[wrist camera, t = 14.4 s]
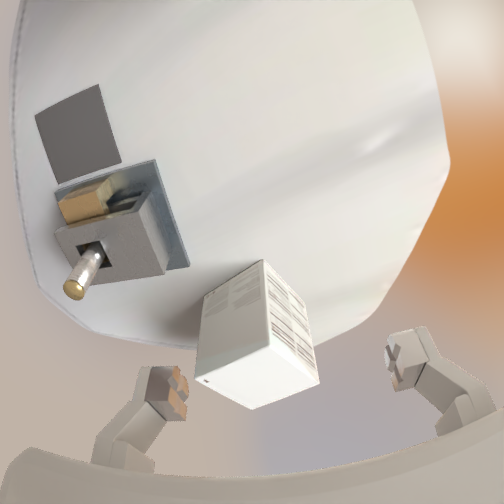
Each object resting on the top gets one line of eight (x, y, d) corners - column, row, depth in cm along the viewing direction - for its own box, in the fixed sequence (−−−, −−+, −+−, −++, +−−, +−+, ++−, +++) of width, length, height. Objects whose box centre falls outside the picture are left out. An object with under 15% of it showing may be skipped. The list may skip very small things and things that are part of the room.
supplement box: (249, 332, 60) (250, 411, 45) (202, 295, 54) (191, 379, 39) (306, 302, 55) (322, 384, 41) (262, 256, 49) (269, 344, 35)
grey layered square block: (57, 190, 41) (33, 212, 35) (155, 159, 39) (138, 179, 33) (99, 277, 51) (85, 305, 45) (190, 263, 49) (183, 294, 43)
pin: (98, 225, 44) (59, 283, 32) (113, 222, 43) (76, 280, 32) (105, 241, 45) (70, 301, 34) (120, 238, 45) (87, 299, 34)
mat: (35, 115, 33) (34, 115, 33) (98, 84, 32) (97, 84, 32) (59, 183, 40) (58, 184, 40) (121, 161, 39) (120, 162, 39)
